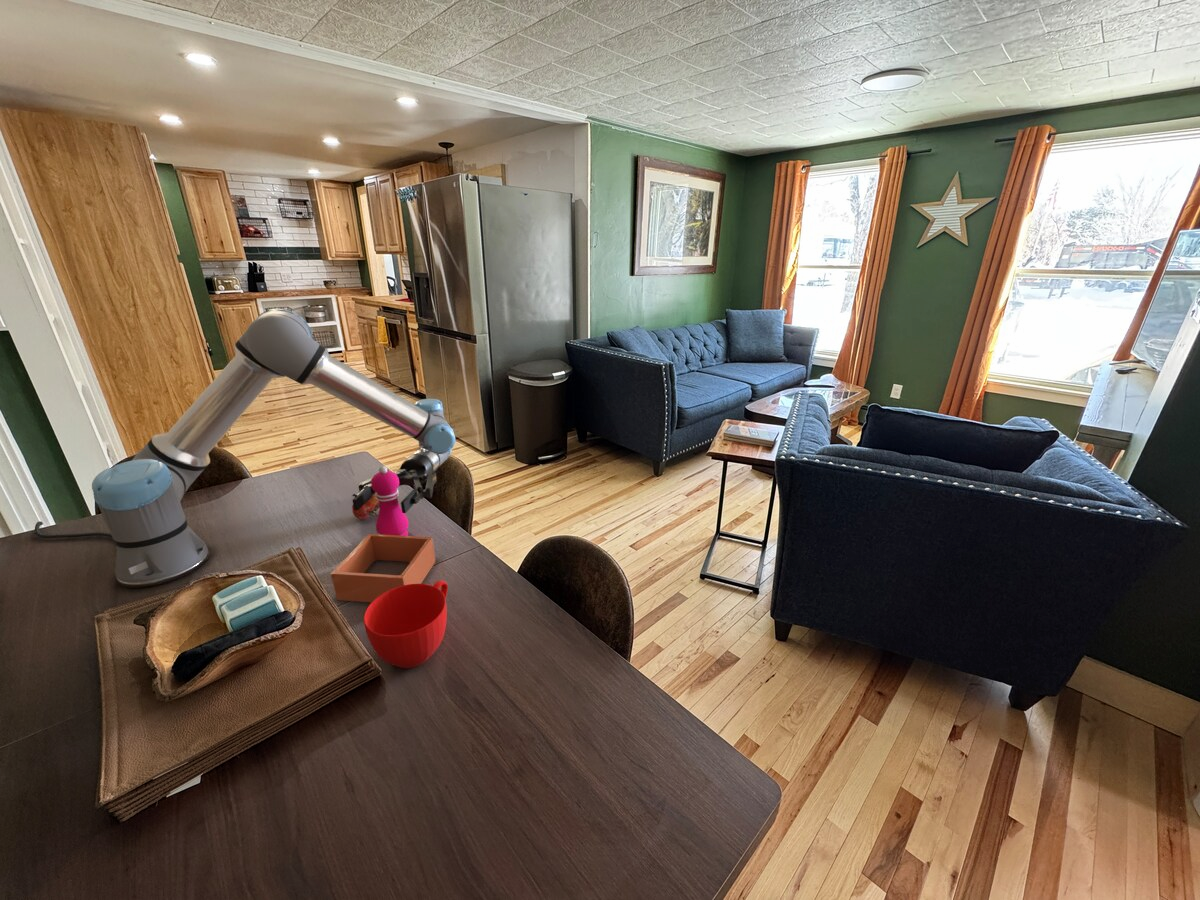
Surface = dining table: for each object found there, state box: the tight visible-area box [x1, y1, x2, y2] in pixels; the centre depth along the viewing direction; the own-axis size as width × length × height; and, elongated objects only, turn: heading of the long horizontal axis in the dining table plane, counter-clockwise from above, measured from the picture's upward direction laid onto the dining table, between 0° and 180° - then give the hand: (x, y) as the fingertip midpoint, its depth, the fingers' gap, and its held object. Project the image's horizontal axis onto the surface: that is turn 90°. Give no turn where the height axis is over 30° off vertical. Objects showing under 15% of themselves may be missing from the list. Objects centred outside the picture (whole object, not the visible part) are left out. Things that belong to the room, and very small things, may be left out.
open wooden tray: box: [330, 533, 436, 603], centre depth 101 cm, size 15×15×6 cm
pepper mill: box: [371, 465, 410, 536], centre depth 112 cm, size 7×7×20 cm
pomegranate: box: [351, 493, 380, 521], centre depth 124 cm, size 7×7×10 cm
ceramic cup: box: [363, 580, 449, 669], centre depth 83 cm, size 13×17×10 cm
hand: (378, 506), depth 107 cm, fingers open, 11 cm apart
